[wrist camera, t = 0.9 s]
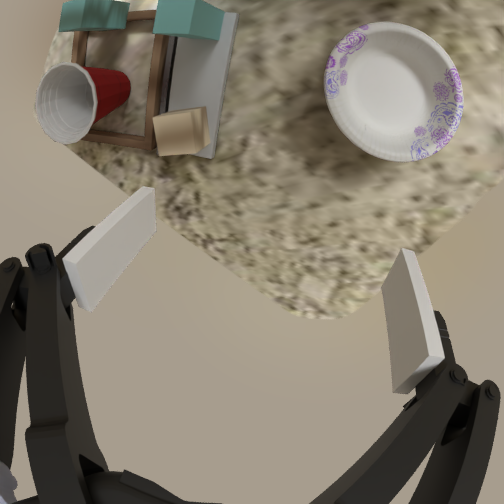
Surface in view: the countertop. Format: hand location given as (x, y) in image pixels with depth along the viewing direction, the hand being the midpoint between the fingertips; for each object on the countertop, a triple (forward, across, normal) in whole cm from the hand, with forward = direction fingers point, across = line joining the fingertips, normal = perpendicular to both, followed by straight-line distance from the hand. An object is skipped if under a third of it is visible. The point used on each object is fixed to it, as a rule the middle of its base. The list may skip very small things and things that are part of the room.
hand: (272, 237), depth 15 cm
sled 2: (+25, -14, +4) cm, 29 cm away
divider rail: (+25, -18, +5) cm, 32 cm away
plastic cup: (+25, -28, +3) cm, 38 cm away
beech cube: (+24, -14, -2) cm, 28 cm away
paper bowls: (+26, +8, +8) cm, 28 cm away
